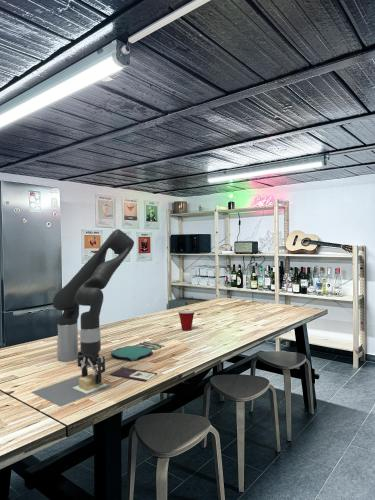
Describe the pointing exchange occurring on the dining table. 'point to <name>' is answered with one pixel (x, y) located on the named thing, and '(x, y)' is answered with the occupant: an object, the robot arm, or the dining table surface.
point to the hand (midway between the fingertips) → (91, 380)
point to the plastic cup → (186, 319)
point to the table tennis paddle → (134, 351)
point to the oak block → (89, 382)
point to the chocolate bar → (133, 374)
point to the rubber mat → (66, 391)
